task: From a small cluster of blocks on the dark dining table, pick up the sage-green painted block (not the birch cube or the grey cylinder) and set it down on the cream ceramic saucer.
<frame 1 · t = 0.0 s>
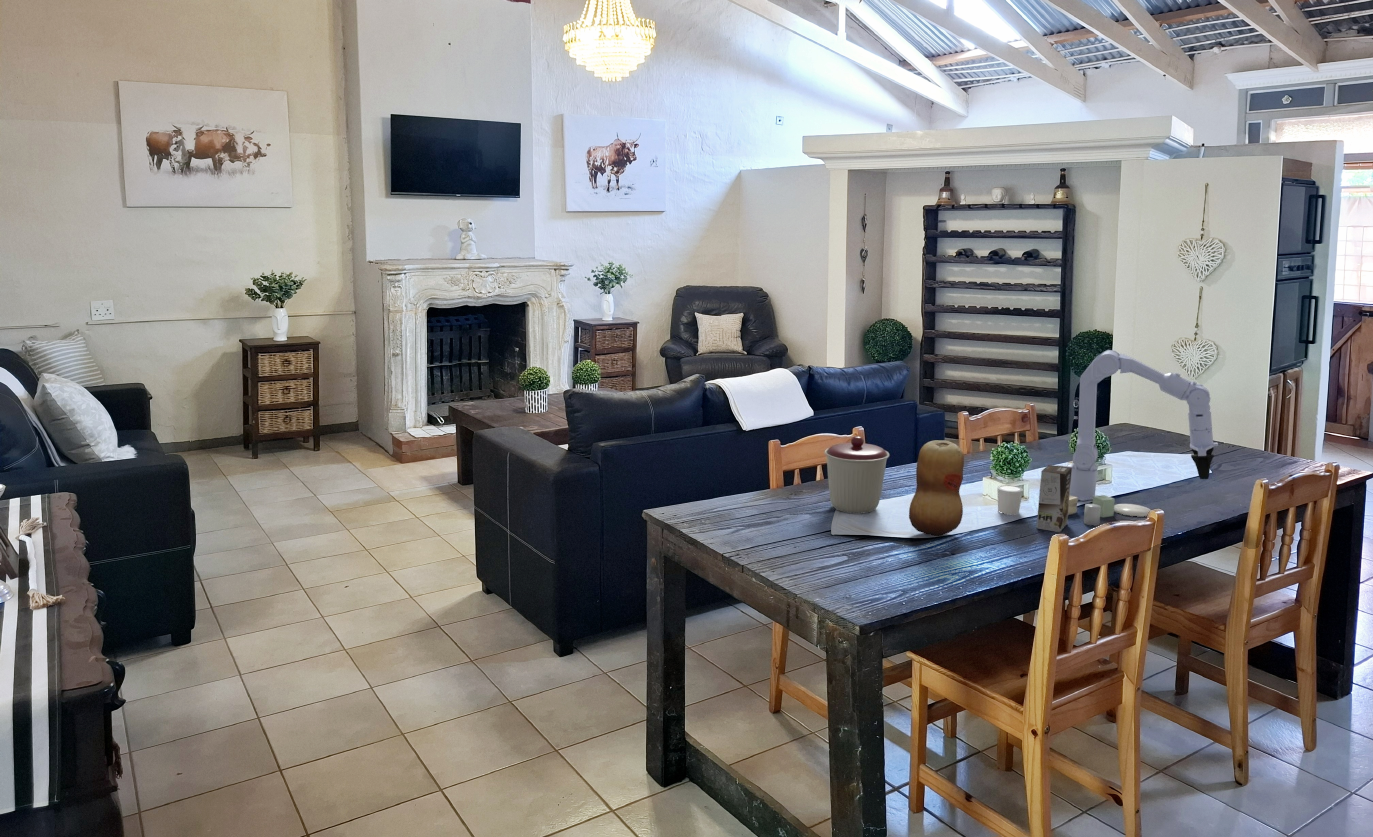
hand: (1204, 475, 287), 11 cm above the table, tool pointing down, fingers open, 7 cm apart
coffee box: (1051, 527, 275), on the table
white cup: (1008, 512, 287), on the table
butternut squash: (934, 535, 267), on the table
saucer: (1131, 511, 289), on the table
birch cube: (1064, 512, 288), on the table
canister: (854, 509, 289), on the table
sage block: (1102, 514, 286), on the table
grey cylinder: (1091, 523, 278), on the table
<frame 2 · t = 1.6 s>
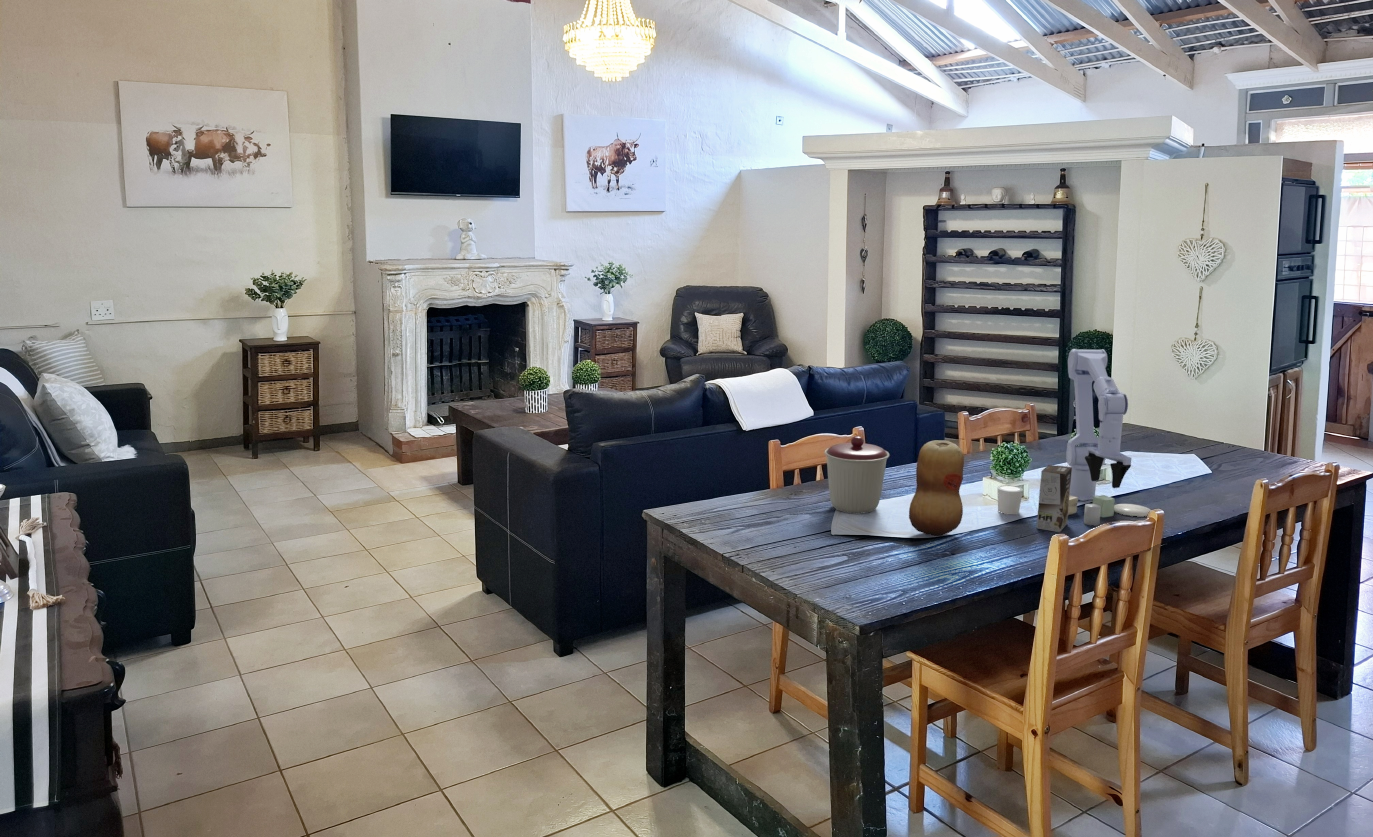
hand: (1105, 484, 284), 9 cm above the table, tool pointing down, fingers open, 7 cm apart
nothing on the table moved.
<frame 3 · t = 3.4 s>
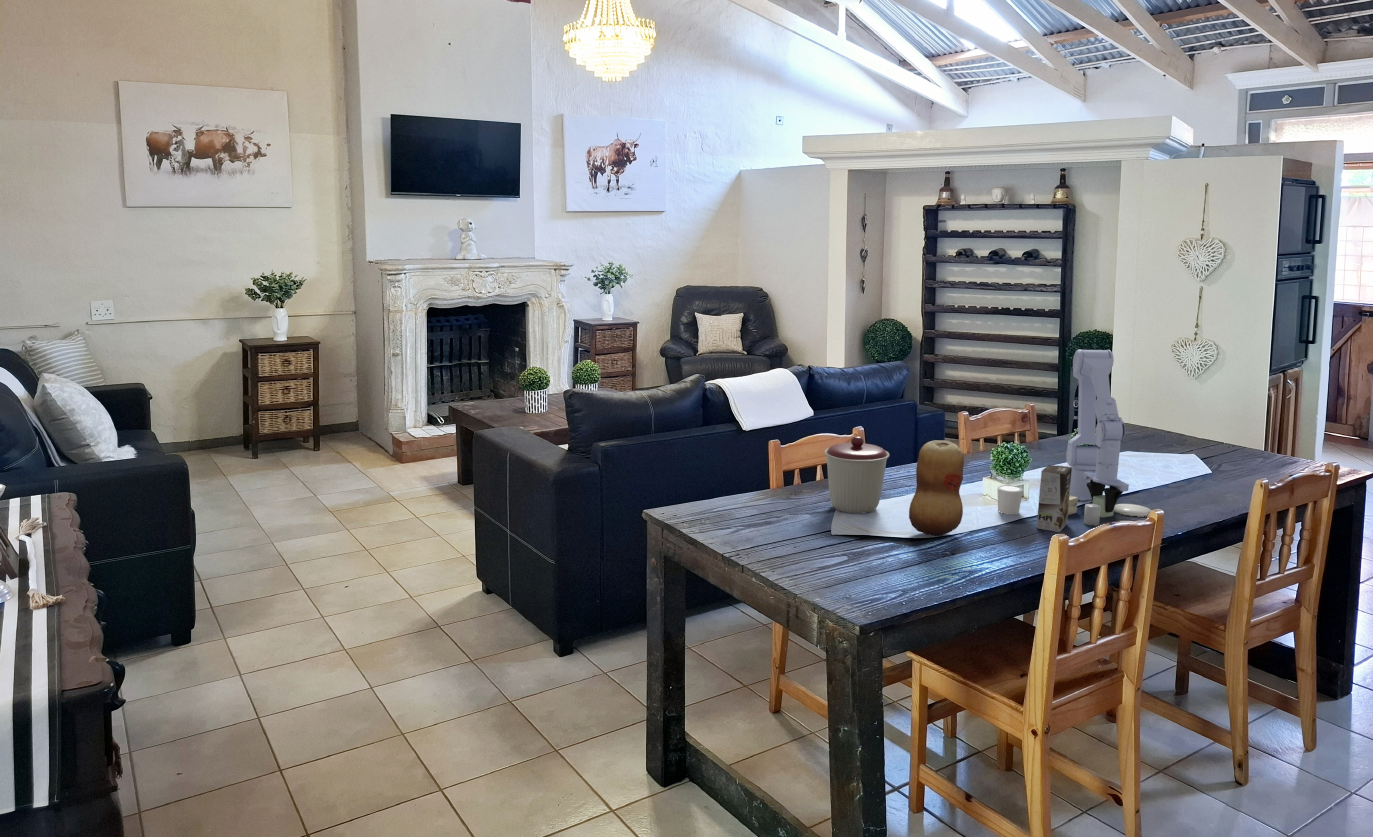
hand: (1102, 509, 285), 1 cm above the table, tool pointing down, fingers closed on sage block, 4 cm apart
sage block: (1102, 514, 286), on the table, touching gripper
everything else where it was.
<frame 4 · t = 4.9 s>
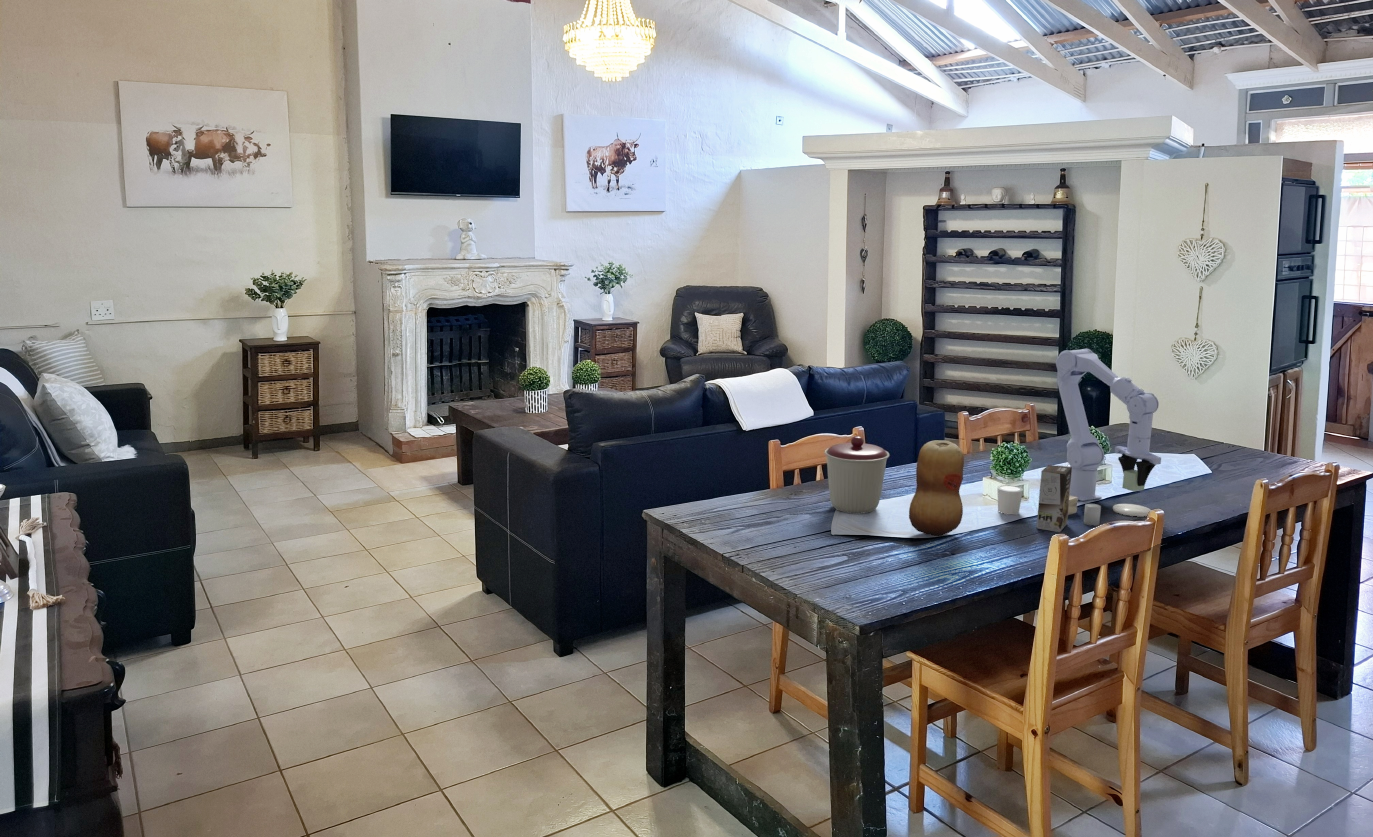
hand: (1134, 483, 287), 8 cm above the table, tool pointing down, fingers closed on sage block, 4 cm apart
sage block: (1133, 488, 287), point 7 cm above the table, touching gripper
everything else where it was.
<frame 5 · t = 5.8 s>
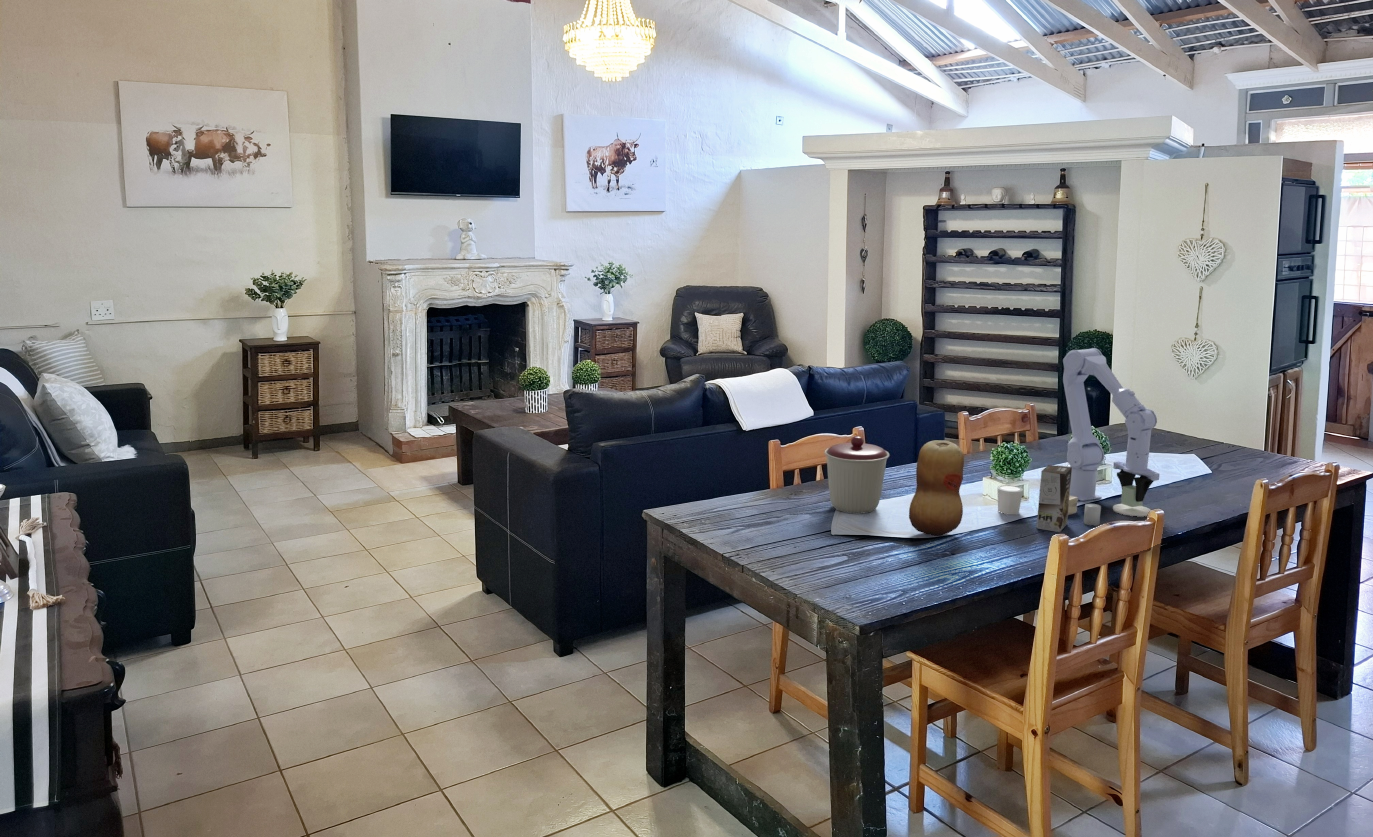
hand: (1133, 499, 288), 4 cm above the table, tool pointing down, fingers closed on sage block, 4 cm apart
sage block: (1131, 504, 288), point 2 cm above the table, touching gripper
everything else where it was.
when the fingers open (4 cm above the table, at t = 6.5 s): sage block drops 1 cm, resting on saucer.
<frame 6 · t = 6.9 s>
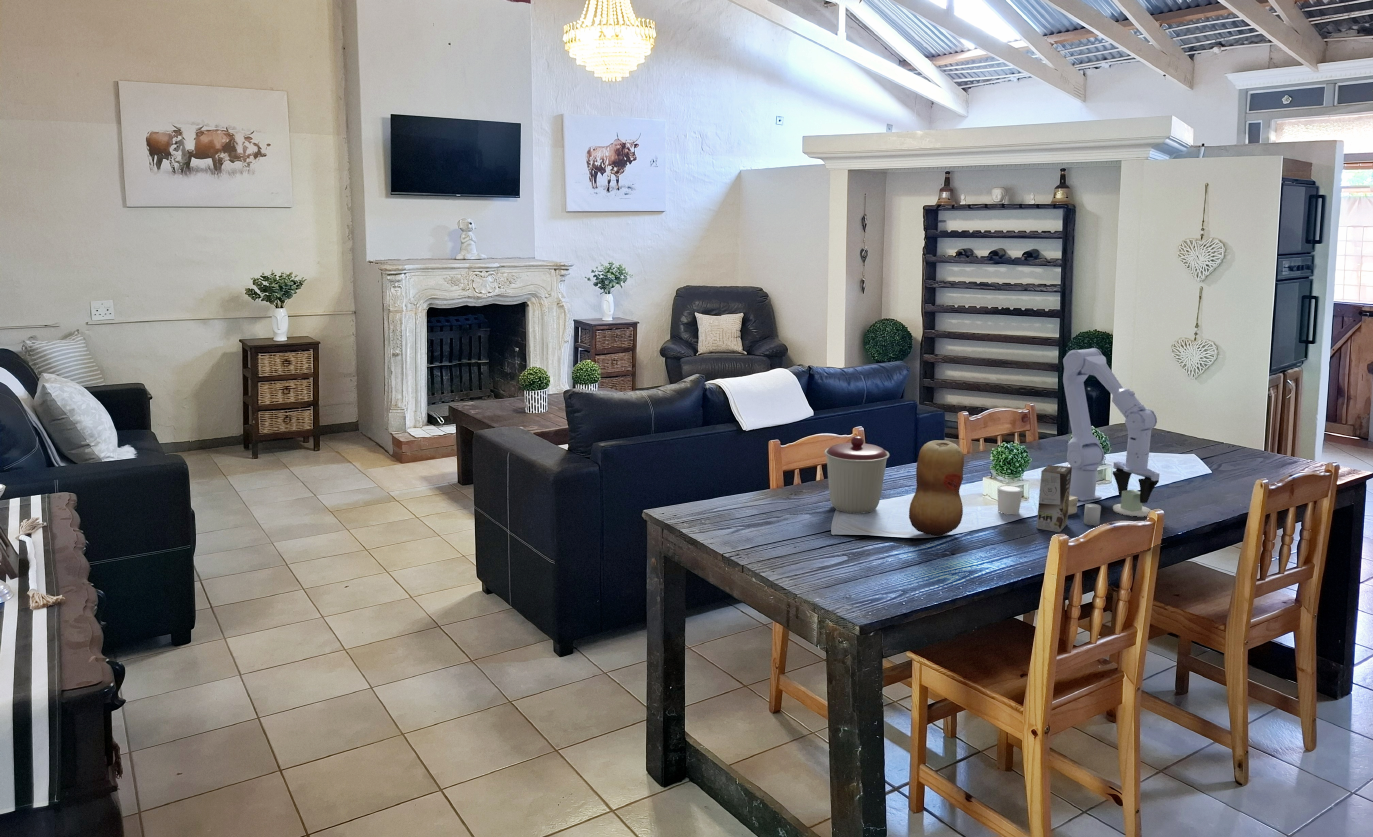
hand: (1133, 499, 288), 4 cm above the table, tool pointing down, fingers open, 7 cm apart
sage block: (1131, 509, 288), point 1 cm above the table, touching saucer
everything else where it was.
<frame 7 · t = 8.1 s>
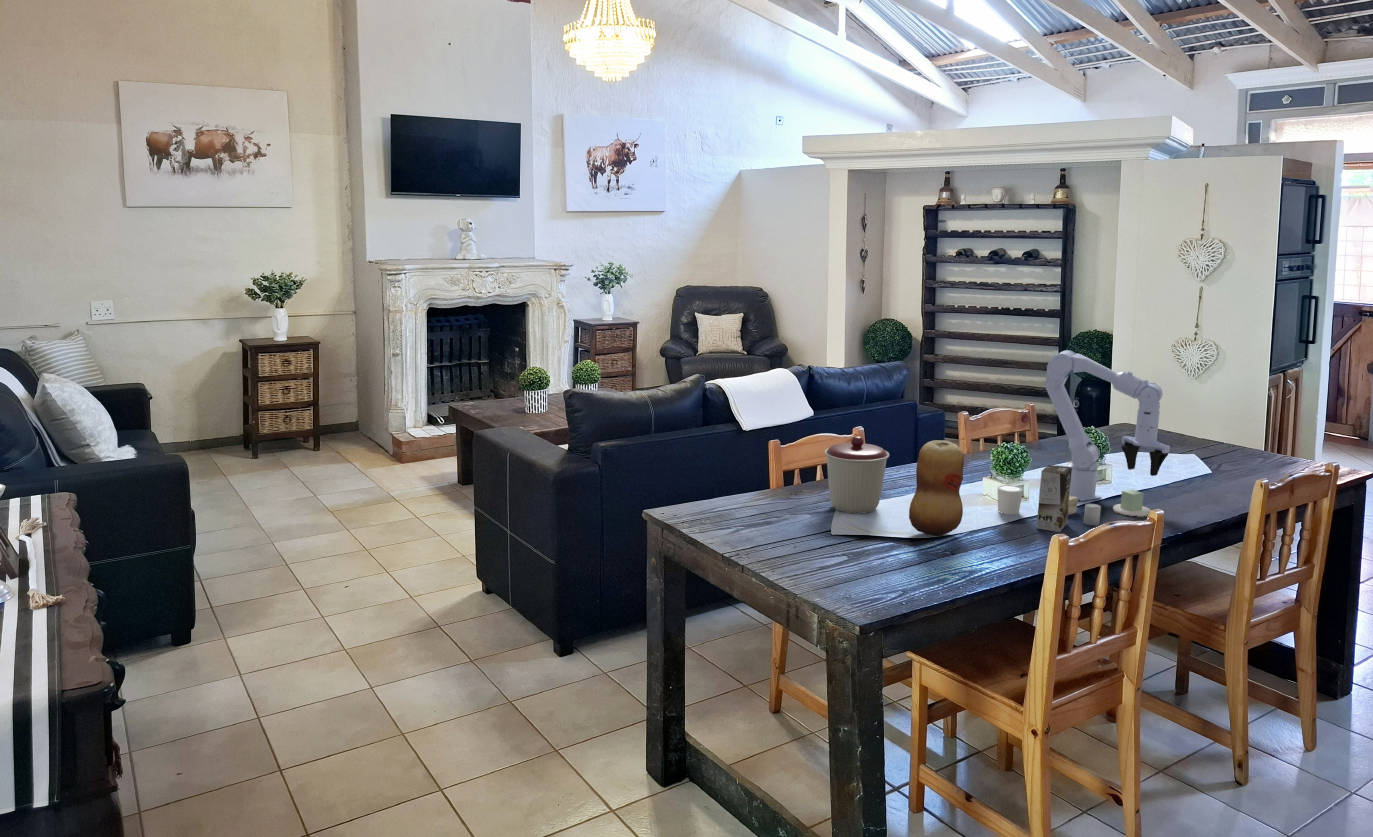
hand: (1142, 472, 293), 10 cm above the table, tool pointing down, fingers open, 7 cm apart
nothing on the table moved.
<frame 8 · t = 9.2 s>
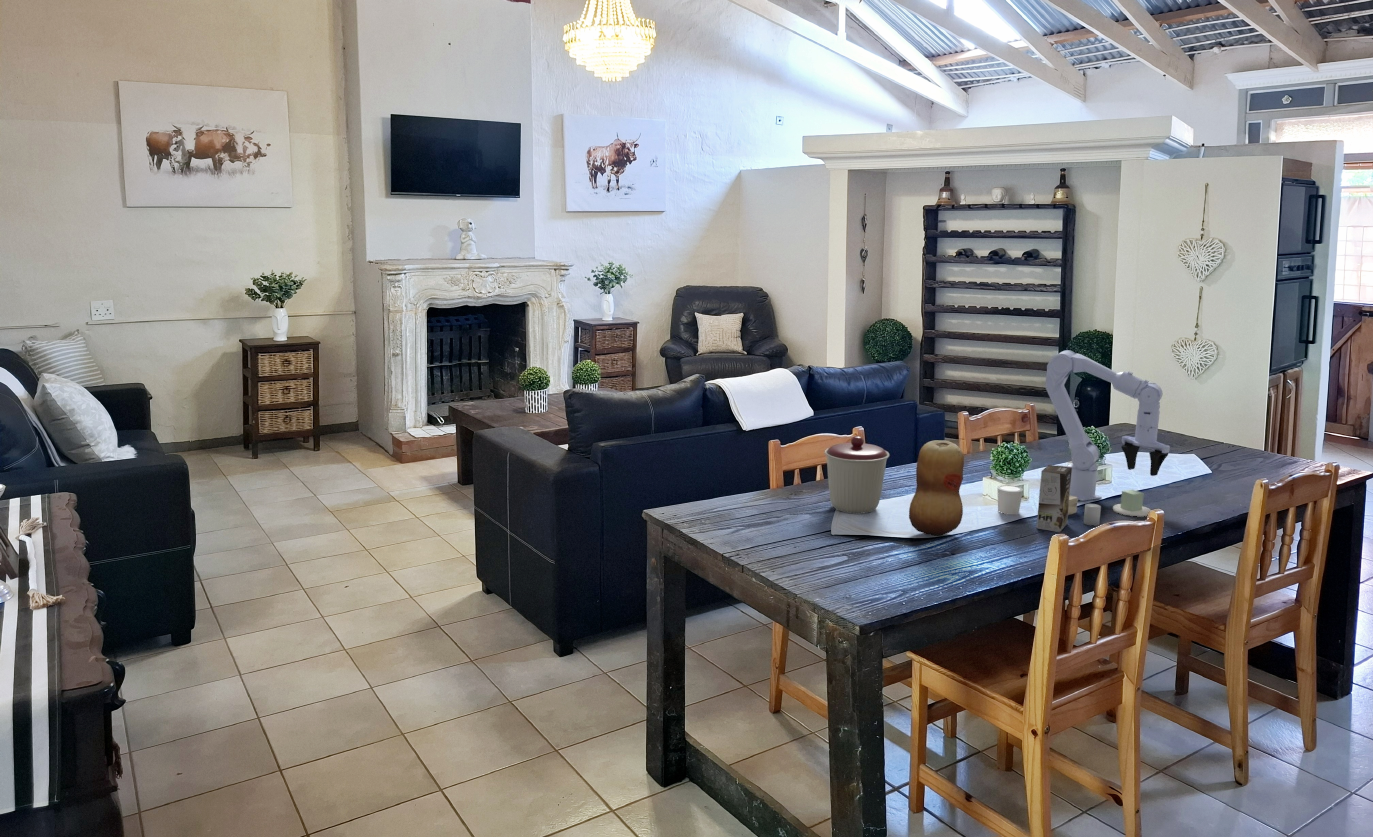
hand: (1142, 472, 293), 10 cm above the table, tool pointing down, fingers open, 7 cm apart
nothing on the table moved.
at the end: sage block inside the target area on the saucer (0.3 cm from its centre), point 0.8 cm above the saucer's base; sage block tilted 0°; the gripper is holding nothing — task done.
